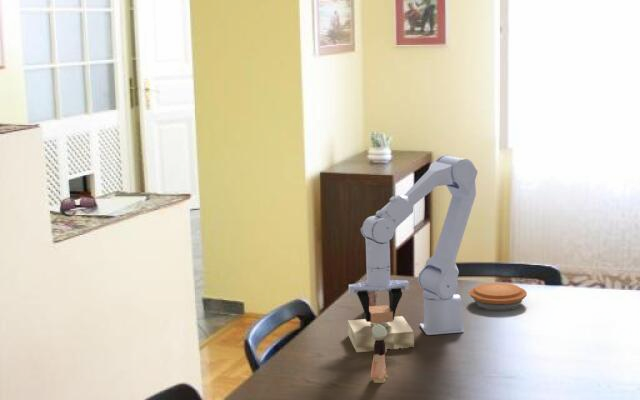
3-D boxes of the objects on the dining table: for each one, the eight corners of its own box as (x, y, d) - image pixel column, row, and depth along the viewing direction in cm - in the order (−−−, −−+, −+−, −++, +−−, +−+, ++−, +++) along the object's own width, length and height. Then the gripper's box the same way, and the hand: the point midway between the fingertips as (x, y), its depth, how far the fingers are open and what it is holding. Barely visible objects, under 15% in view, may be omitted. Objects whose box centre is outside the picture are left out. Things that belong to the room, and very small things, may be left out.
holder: (402, 331, 227) (402, 316, 226) (414, 347, 215) (413, 331, 215) (348, 335, 225) (347, 320, 225) (356, 352, 214) (356, 336, 213)
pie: (534, 300, 248) (535, 283, 247) (514, 316, 235) (514, 298, 234) (482, 293, 256) (482, 276, 255) (460, 309, 243) (459, 291, 242)
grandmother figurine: (371, 373, 200) (370, 319, 198) (389, 373, 200) (387, 319, 197) (370, 387, 193) (368, 330, 190) (388, 387, 192) (386, 330, 190)
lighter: (374, 317, 239) (373, 281, 237) (362, 317, 239) (361, 280, 238) (378, 307, 247) (377, 272, 245) (366, 307, 247) (365, 272, 245)
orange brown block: (388, 328, 223) (388, 305, 222) (393, 335, 217) (392, 311, 216) (367, 330, 222) (366, 306, 221) (371, 337, 217) (370, 313, 216)
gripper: (351, 272, 212) (353, 327, 214) (411, 267, 214) (412, 322, 216) (346, 264, 219) (348, 318, 221) (404, 260, 221) (405, 313, 223)
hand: (379, 319), depth 219 cm, fingers closed on orange brown block, 5 cm apart
